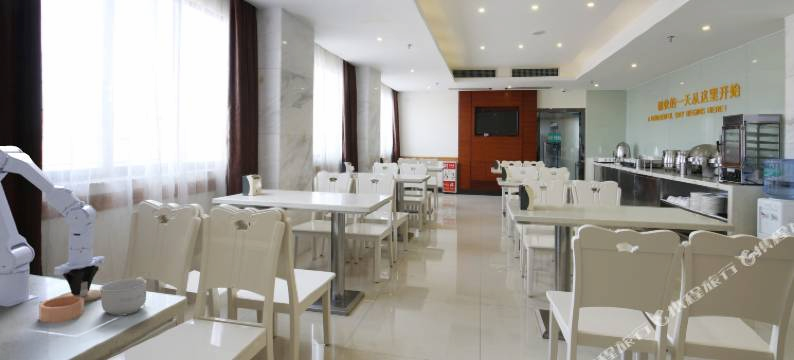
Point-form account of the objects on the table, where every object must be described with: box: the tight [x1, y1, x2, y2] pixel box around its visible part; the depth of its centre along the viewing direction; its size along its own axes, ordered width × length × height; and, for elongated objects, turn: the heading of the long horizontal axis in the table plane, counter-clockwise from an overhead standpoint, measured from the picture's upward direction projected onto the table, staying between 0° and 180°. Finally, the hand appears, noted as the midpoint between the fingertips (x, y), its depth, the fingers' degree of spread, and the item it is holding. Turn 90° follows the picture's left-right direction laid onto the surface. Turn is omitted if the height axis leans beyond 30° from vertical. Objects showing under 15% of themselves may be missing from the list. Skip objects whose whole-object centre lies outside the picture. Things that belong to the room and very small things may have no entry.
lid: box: [56, 281, 101, 303], centre depth 123 cm, size 11×11×5 cm
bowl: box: [38, 296, 85, 323], centre depth 110 cm, size 9×9×4 cm
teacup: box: [99, 276, 148, 316], centre depth 117 cm, size 14×11×8 cm
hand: (80, 292), depth 123 cm, fingers closed on lid, 2 cm apart
